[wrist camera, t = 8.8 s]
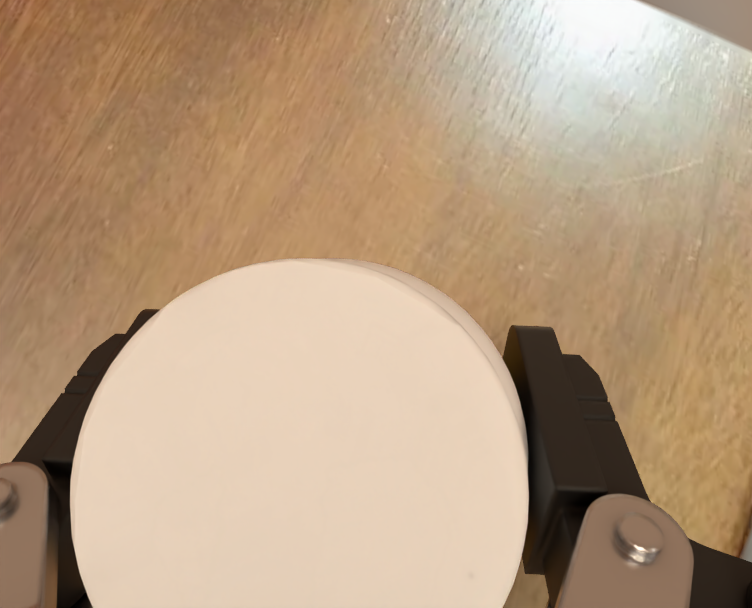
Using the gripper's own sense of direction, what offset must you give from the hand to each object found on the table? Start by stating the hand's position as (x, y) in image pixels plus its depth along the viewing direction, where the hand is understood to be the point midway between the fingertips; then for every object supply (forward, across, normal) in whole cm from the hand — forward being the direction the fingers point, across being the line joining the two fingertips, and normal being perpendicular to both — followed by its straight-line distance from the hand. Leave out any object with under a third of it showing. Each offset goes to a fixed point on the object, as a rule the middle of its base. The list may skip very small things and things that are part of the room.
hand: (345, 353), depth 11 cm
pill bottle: (+3, 0, +6) cm, 6 cm away
